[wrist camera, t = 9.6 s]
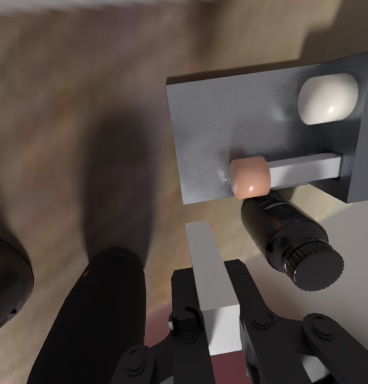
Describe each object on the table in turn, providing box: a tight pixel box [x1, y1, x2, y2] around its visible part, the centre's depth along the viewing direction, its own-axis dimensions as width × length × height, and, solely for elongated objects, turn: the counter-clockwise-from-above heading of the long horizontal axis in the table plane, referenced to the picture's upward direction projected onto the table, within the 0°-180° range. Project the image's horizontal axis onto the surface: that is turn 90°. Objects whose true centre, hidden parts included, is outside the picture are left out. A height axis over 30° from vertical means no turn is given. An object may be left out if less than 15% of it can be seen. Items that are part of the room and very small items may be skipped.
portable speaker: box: [27, 248, 146, 384], centre depth 23 cm, size 9×9×20 cm
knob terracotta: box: [230, 152, 344, 199], centre depth 24 cm, size 13×4×4 cm, turn 98°
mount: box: [166, 52, 368, 204], centre depth 23 cm, size 25×14×7 cm, turn 98°
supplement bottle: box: [241, 191, 344, 291], centre depth 25 cm, size 7×7×12 cm
